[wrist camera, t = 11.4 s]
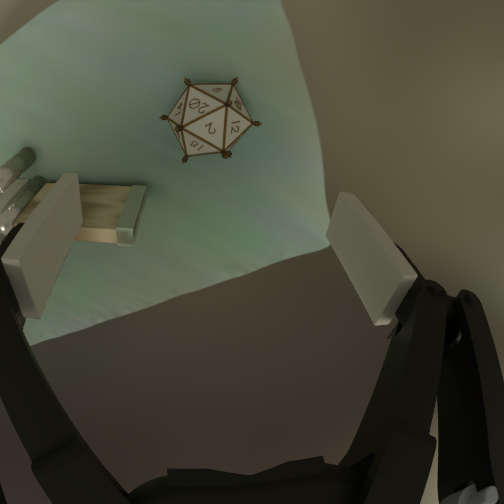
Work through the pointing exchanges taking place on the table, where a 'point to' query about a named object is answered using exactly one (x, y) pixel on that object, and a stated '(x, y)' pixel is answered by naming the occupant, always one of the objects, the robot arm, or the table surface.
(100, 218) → the gate
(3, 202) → the light grey flat panel
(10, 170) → the peg
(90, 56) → the table surface
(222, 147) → the game die
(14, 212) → the gate post
